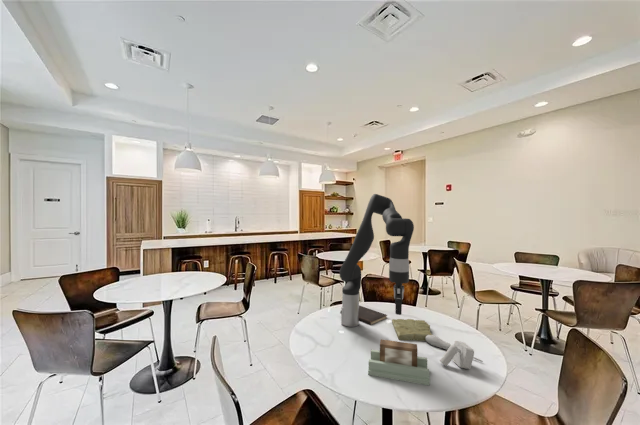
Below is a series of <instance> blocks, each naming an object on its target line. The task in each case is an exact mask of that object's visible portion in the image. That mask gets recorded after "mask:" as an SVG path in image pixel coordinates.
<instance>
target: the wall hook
mask: <svg viewBox="0 0 640 425" xmlns="http://www.w3.org/2000/svg"><path fill="white" fill-rule="evenodd" d="M445 351H446V352H445V353H444V354H443V356H442V357H441V358H440V359H439V362H440V364H442V365H443V366H445V367H446V368H447V367H448V366H449V364H450V362H451V361H453V362H454V363H455V364H456V365H457V366H458V367H459V368H461V369H466V370H471V368H472V363H473V360H474V358H473V357H475V350H474V349H473V347H471V346H470V345H468V344H467V343H466V342H464V341H459V340H455V341H454V344H451V346H450V347H449V349H448V350H445Z"/></svg>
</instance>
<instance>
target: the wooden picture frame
mask: <svg viewBox="0 0 640 425" xmlns="http://www.w3.org/2000/svg"><path fill="white" fill-rule="evenodd" d="M379 351H380V361H382V362H388V363H395V364H401V365H407V366H413V367H417V356H418V344H417V343H412V342H402V341H398V340H397V341H396V340H391V339H390V340H389V339H383V338H382V339H381V338H380V341H379Z"/></svg>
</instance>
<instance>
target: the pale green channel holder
mask: <svg viewBox="0 0 640 425" xmlns="http://www.w3.org/2000/svg"><path fill="white" fill-rule="evenodd" d="M367 371H368V372H367V375H369V376H373V377H378V378H379V377H380V378H383V379H384V378H385V379H391V380H395V381H402V382H406V383H407V382H409V383H412V384H413V383H414V384H419V385H425V386H430V382H431V381H430V368H428V358H427V357H424V356H418V355H417V367H413V366H407V365H401V364H395V363H388V362H382V361H380V350H378V349H377V350H376V349H371V350H370V359H368V370H367Z"/></svg>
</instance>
